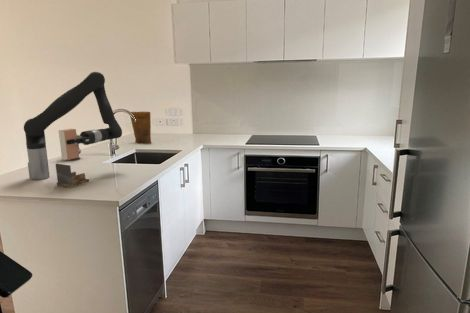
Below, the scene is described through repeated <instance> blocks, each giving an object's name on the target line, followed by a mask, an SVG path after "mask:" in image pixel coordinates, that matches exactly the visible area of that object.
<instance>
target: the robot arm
mask: <svg viewBox="0 0 470 313" xmlns="http://www.w3.org/2000/svg"><path fill="white" fill-rule="evenodd" d="M105 83H106V78H105V76H104V74H103V73H101V72H99V71H93V72H90V73H89V74H88V75H87V76H86V77H85V78H84V79H83V80H82V81H80V83H78V84H77V85H75V86H74V87H72V88H70V89H69V90H67V91H66V92H65V93H63V94H61V95H59V96H58V97H57V98H56V99H55V100H54V101H53V102H52V103H50V105H48V106H47V107H46V108H45V109H44V110H43V111H42V112H41V113H39V114H37V115H36V116H34V117H32V118H28V119H27V120H26V121H25V122H24V123H23V124H24V125H23V131H24V133H25V145H26V152H27V158H28V162H27V168H28V169H27V170H28V176H29V177H28V178H29V180H35V181H38V180H45V179H48V178H50V177H51V176H50V167H49V159H48V152H47V146H46V145H47V143H46V141H47V140H46V133H45V130H47V129H48V127H49V126H50V125H52V124H53V123H55V122H56V121H57V120H59V119H61V118H63V117H64V116H65V115H66V114H68V113H70V112H71V111H72V110H74V109H75V108H76V107H78V105H79V104H81V102H83V101H84V99H86V97H88V96H89V95H90V94H91V93H93V95H94V97H95V99H96V102H97V106H98V110H99V114H100V117H101V119H102V123H103V124H105V125H108V126H109V127H105V128H100V129H90V130H85V131H81V132H80V134H79V135H78V134H77V138H75V139H71V140H67V144H68V145H69V144H76V143H77V144H79V145H80V144H82V145H84V146H89V145H95V144H98V143H100V142H104V141H108V140H109V141H110V140H113V139H119V138H121V137H122V135H123V130H122V127H121V126H120V124H119V122H118V121H117V118H116V117H115V114H114V110H113V109H112V106H111V103H110V101H109V99H108V97H107V96H108V95H107V92H106V88H105Z"/></svg>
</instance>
